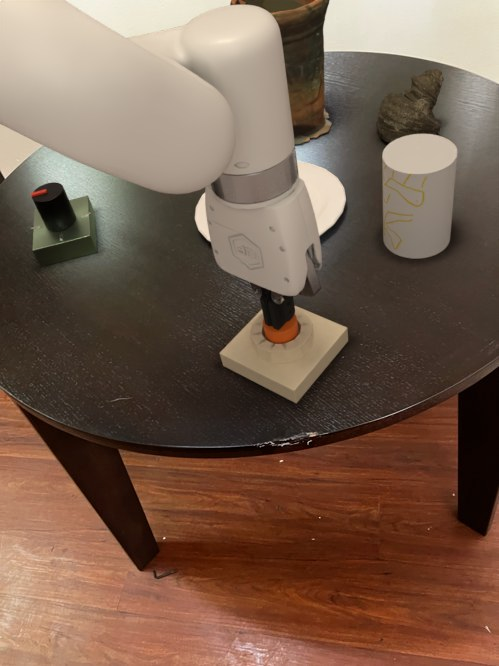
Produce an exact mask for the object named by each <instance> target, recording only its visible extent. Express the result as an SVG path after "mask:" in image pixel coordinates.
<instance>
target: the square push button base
mask: <svg viewBox="0 0 499 666" xmlns="http://www.w3.org/2000/svg"><path fill="white" fill-rule="evenodd" d="M295 315H296V317H297V323H298V334H297V336H296V337H295V338H294V339H293V340H291V341H289V342H287V343H283V344H277V343H273V342H271V341H269V340H268V339H267V338H266V336H265V332H264V328H263V318H264V316H263V312H262V308H261V309H260V310H259V311H258V313H256V314H255V315H254V316H253V318H251V320H250V321H249V322H248V323H247V324H246V325H245V326H243V328H242V329H241V330H240V331H239V332H238V333H237V334H236V335H235V336H234V337H233V338H232V339H231V340H230V341H229V342H228V343H227V345H226V346H225V347H224V348H223V349H222V350H220V351H219V356H220V360H221V363H222V366H223V367H224V368H227V369H228V370H230V371H232V372H233V373H236V374H238V375H240V376H242V377H244V378H245V379H247V380H250V381H252V382H253V383H255V384H258V385H260V386H262V388H263V387H264V388H265V389H267V390H269V391H271V392H273V393H275V394H277V395H279V396H281V397H283V398H285V399H286V400H289V401H291V402H293V403H294V404H298V402H299V401H300V400H301V399H302V398H303V396H304V395H305V394H306V393H307V392H308V390H310V388H311V387H312V386H313V384H314V383H315V382H316V380H318V378H319V377H320V376H321V375H322V374H323V372H324V371H325V370H326V369H327V368H328V367H329V365H330V364H331V362H333V360H334V359H335V358H336V357H337V356H338V354H339V353H340V352H341V351H342V349H343V348H344V347H345V346H346V345H347V343H348V342H349V332H348V331H349V330H348V327H347V326H345V325H342V324H340V323H337V322H335V321H332V320H330V319H329V318H326V317H324V316H320V315H319V314H316V313H314V312H311V311H309V310H306V309H305V308H302V307H299V306H297V305H295Z"/></svg>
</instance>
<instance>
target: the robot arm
mask: <svg viewBox="0 0 499 666" xmlns="http://www.w3.org/2000/svg"><path fill="white" fill-rule="evenodd" d="M0 125H1V126H4V127H6V128H7V129H10V130H11V131H13V132H15V133H18V134H19V135H22V136H23V137H26V138H27V139H29V140H31V141H33V142H35V143H37V144H39V145H41V146H43V147H45V148H47V149H48V150H49V149H50V150H51V151H54V152H56V153H58V154H60V155H61V156H63V157H65V158H69V159H71V160H73V161H75V162H77V163H79V164H82V165H84V166H86V167H89V168H92V169H94V170H97V171H99V172H101V173H104V174H106V175H109V176H113V177H116V178H118V179H120V180H123V181H125V182H129V183H131V184H134V185H137V186H139V187H142V188H145V189H148V190H151V191H153V192H157V193H162V194H165V195H166V194H169V195H185V194H191V193H194V192H197V191H201V190H203V189H204V193H205V206H206V216H207V224H208V230H209V235H210V240H211V242H210V244H211V250H212V253H213V256H214V259H215V263H216V264H217V266H218V267H219V268H220V269H222V270H223V271H224V272H226V273H228V274H231V275H233V276H235V277H237V278H239V279H242V280H244V281H246V282H249V284H250V286H251V291H252V292H253V293H254V295H256V296H257V297H259V302H260V306H261V307H260V308H261V309H262V312H263V316H264V321H265V324H266V325H268V326H273V328H274V329H276V330H280V329H281V327H282V326H283V325H284V324H285V323H286V322H287V321H290V320H291V319H292V317H293V316H294V314H295V306H296V305H295V301H294V297H295V296H297V295H299V296H303V297H307V298H308V297H309V298H314V297H315V296H316V295H317V294H318V293H319V292H320V291H321V289H322V285H321V284H322V283H321V282H320V278H319V276H318V273H317V272H319V271H320V270H322V266H323V257H322V256H323V255H322V254H323V253H322V246H321V239H320V238H321V237H319V232H318V227H317V222H316V218H315V214H314V210H313V206H312V203H311V200H310V197H309V194H308V191H307V188H306V185H305V183H304V181H303V180H302V179H300V178H299V173H298V166H297V161H298V159H297V151H296V144H295V142H294V133H293V125H292V117H291V109H290V102H289V94H288V86H287V78H286V70H285V62H284V54H283V46H282V39H281V34H280V29H279V26H278V23H277V22H276V20H275V18H274V17H273V16H272V15H271V14H270V13H269V12H268V11H267V10H265V9H263V8H260V7H258V6H254V5H230V4H229V5H223V6H219V7H216V8H212V9H210V10H208V11H204V12H203V13H200V14H198V15H196V16H195V17H193V18H192V19H190V20H189V22H187V23H186V24H183V25H179V26H176V27H171V28H167V29H163V30H158V31H153V32H149V33H144V34H143V33H142V34H138V35H134V36H129V37H125V36H124V35H122V34H121V33H119V32H117V31H115V30H114V29H112V28H110V27H108V26H107V25H105V24H103V23H102V22H100V21H98V20H97V19H95V18H94V17H92V16H91V15H89V14H87V13H86V12H84V11H82V10H81V9H79V8H78V7H76V6H75V5H73V4H72V3H71V2H69V1H67V0H0Z"/></svg>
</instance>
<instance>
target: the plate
mask: <svg viewBox="0 0 499 666" xmlns="http://www.w3.org/2000/svg"><path fill="white" fill-rule="evenodd" d="M297 166H298V173H299V178H300V179H302V180H303V181H304V183H305V185H306V188H307V191H308V194H309V197H310V200H311V203H312V206H313V210H314V214H315V218H316V222H317V227H318V232H319V238H321V236H323V235H325V233H326V232H328V231H329V230H330V229H332V228H333V227H334V226H335V224H336V223H337V222H338V220H340V218H341V216H342V215H343V213H344V209H345V206H346V202H347V197H346V190H345V187H344V186H343V185H344V184H343V183H342V182H341V180H340V179H339V178H338V176H337V175H335V174H333V173H332V172H330V171H329V170H327V169H326V168H324V167H321V166H319V165H317V164H313V163H311V162H305V161H301V160H297ZM194 221H195V224H196V228H197V230H198V232H199V233H200V234H201V235H202V236H203V238H204V239H205V240H206V241H207V242H209V243H211V240H210V235H209V230H208V224H207V216H206V206H205V192H204V193H202V194H201V197H200V198H199V200H198V202H197V203H196V205H195V211H194Z"/></svg>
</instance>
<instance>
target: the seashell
mask: <svg viewBox="0 0 499 666" xmlns="http://www.w3.org/2000/svg"><path fill="white" fill-rule="evenodd" d="M410 80H411V85H410V88H409V89H408V90H404V92H401V93H391V92H390V93H387V95H386V96H385V97H384V98H383V99H382V101H381V104H380V106H379V111H378V117H377V119H376V122H375V126H376V128H377V132H378V135H379V137H380V139H382V140H383V141H384V142H386V143H388V144H389V143H391V142H392V141H394V140H396V139H398V138H401V137H404V136H407V135H413V134H433V135H437V134H438V133H439V132H440V131H441V129H442V125H441V124H440V123H439V121H438V120H437V119H436V117H435V114H434V111H433V110H434V108H435V106H436V105H437V101H438V98H439V95H440V93H441V90H442V86H443V82H444V77H443V73H442V71H441V69H438V68H436V69H427V70H425V71H424V72H423V73H422V74H420V75H419V74H417V75H413V76H411V77H410Z"/></svg>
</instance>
